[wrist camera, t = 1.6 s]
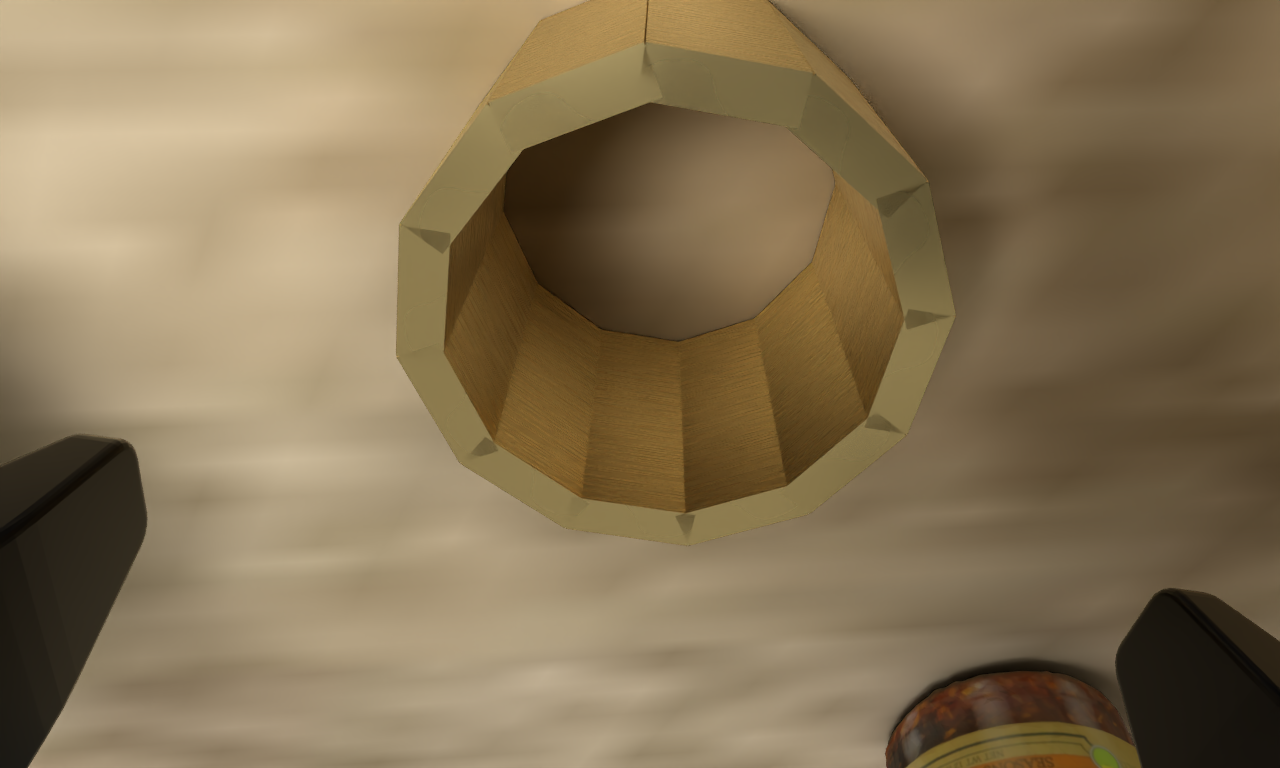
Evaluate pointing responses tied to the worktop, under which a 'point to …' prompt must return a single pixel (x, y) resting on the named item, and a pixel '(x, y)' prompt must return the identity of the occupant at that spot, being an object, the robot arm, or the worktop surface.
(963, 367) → the worktop surface
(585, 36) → the sleeve
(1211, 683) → the robot arm
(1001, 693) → the sauce bottle
